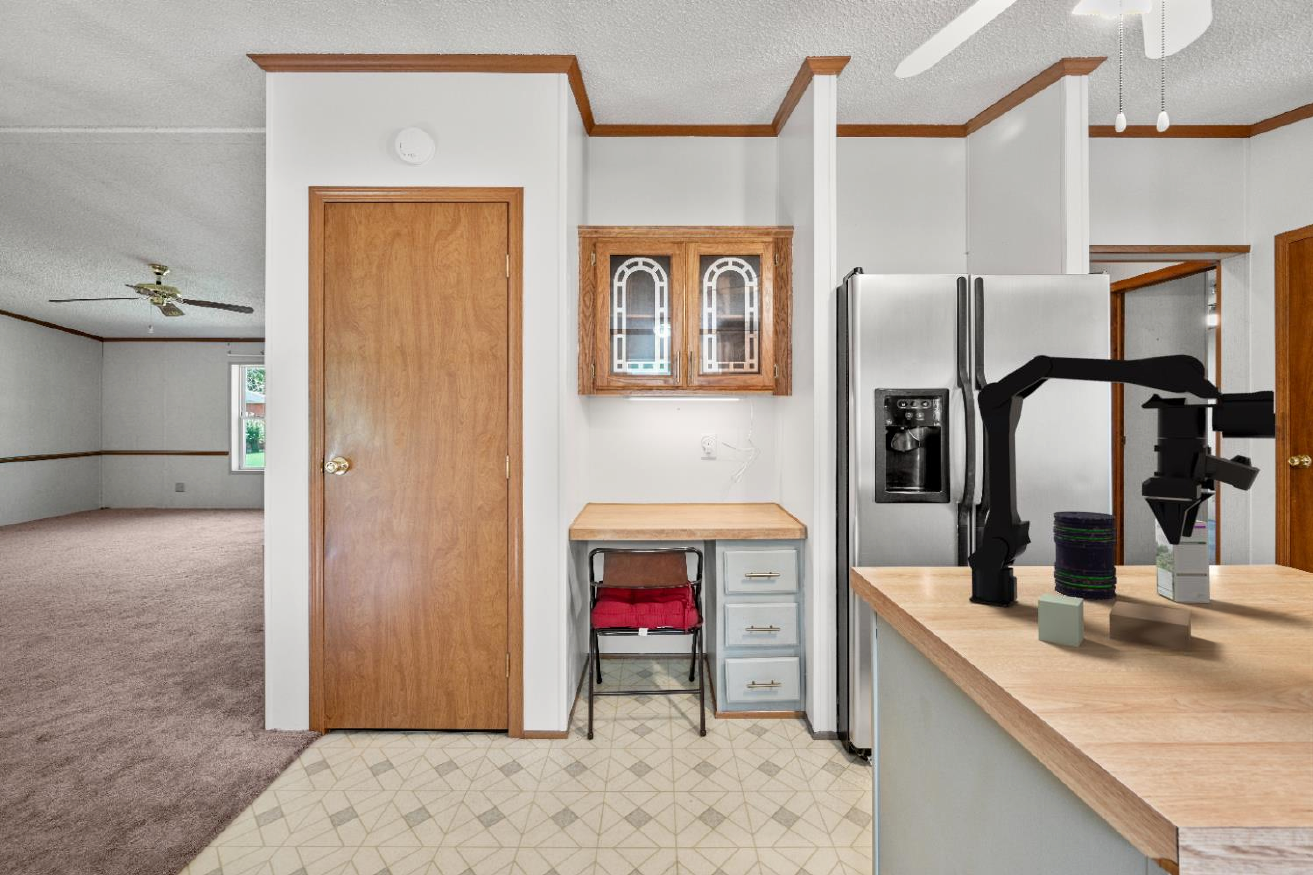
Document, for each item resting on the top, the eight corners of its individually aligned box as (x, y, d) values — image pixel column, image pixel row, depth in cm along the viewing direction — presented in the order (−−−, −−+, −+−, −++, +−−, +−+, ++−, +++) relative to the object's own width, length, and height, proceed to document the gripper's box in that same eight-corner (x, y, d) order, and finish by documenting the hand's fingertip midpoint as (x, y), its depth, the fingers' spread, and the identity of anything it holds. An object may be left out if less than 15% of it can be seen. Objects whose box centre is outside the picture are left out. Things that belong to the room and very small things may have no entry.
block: (1109, 640, 93) (1109, 613, 93) (1116, 626, 100) (1116, 601, 100) (1188, 654, 87) (1188, 625, 87) (1190, 637, 94) (1190, 611, 94)
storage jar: (1130, 600, 113) (1129, 518, 113) (1075, 601, 113) (1074, 518, 113) (1092, 586, 123) (1091, 510, 123) (1042, 587, 123) (1041, 511, 123)
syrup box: (1211, 603, 110) (1210, 521, 109) (1173, 602, 111) (1172, 521, 111) (1191, 595, 115) (1190, 517, 115) (1154, 594, 116) (1153, 516, 116)
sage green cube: (1038, 640, 93) (1038, 600, 93) (1045, 631, 97) (1044, 593, 97) (1078, 647, 90) (1078, 605, 90) (1083, 638, 93) (1083, 598, 93)
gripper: (1245, 440, 82) (1244, 557, 83) (1262, 437, 95) (1261, 539, 95) (1141, 439, 91) (1140, 546, 91) (1168, 437, 103) (1168, 530, 103)
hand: (1180, 540), depth 95 cm, fingers open, 9 cm apart
